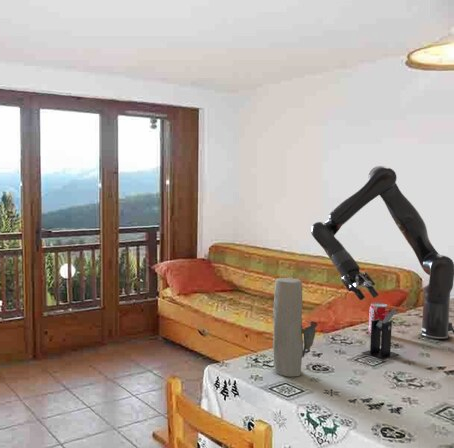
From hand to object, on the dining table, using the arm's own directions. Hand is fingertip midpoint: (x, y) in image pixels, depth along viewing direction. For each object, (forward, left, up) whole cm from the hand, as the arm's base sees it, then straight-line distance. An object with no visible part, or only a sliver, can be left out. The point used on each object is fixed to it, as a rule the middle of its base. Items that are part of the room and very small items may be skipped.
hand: (369, 297), depth 189 cm
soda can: (-13, -4, -18) cm, 23 cm away
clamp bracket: (+9, +11, -18) cm, 23 cm away
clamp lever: (+5, +11, -6) cm, 13 cm away
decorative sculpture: (+48, +6, -18) cm, 52 cm away
